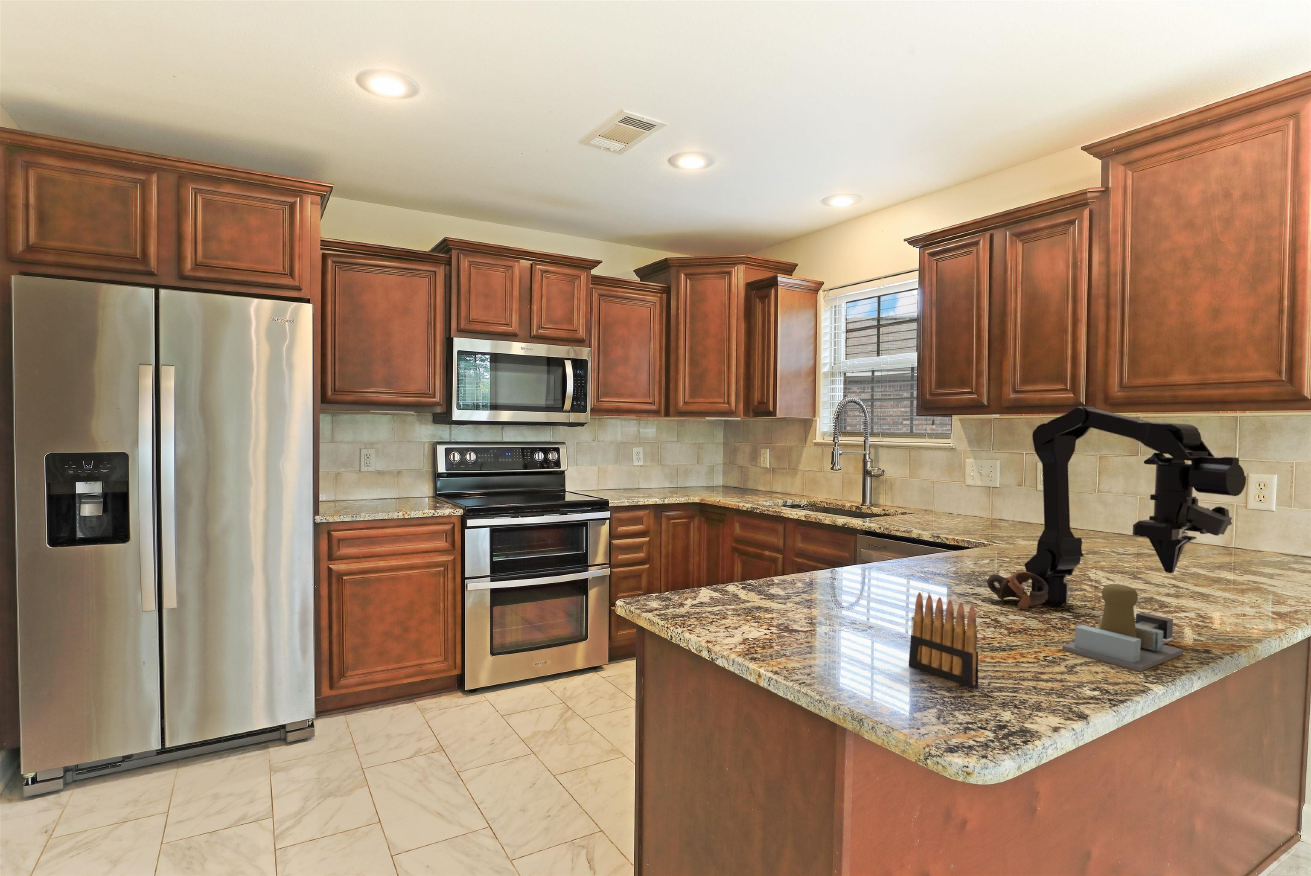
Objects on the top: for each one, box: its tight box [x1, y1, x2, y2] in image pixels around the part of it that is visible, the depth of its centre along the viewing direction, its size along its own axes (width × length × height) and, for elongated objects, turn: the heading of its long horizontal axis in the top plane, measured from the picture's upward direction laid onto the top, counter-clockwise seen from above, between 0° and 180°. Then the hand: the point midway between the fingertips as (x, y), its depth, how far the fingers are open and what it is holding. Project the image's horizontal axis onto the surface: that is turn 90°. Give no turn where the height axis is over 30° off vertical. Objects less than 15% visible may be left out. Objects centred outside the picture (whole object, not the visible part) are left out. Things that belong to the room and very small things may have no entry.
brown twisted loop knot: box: [986, 570, 1049, 610], centre depth 153 cm, size 12×10×8 cm
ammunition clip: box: [908, 591, 979, 689], centre depth 107 cm, size 11×2×12 cm, turn 35°
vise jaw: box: [1099, 611, 1174, 651], centre depth 126 cm, size 12×9×3 cm
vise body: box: [1061, 624, 1184, 673], centre depth 124 cm, size 25×12×4 cm, turn 124°
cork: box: [1099, 583, 1139, 638], centre depth 121 cm, size 6×6×11 cm
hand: (1169, 572), depth 132 cm, fingers closed
